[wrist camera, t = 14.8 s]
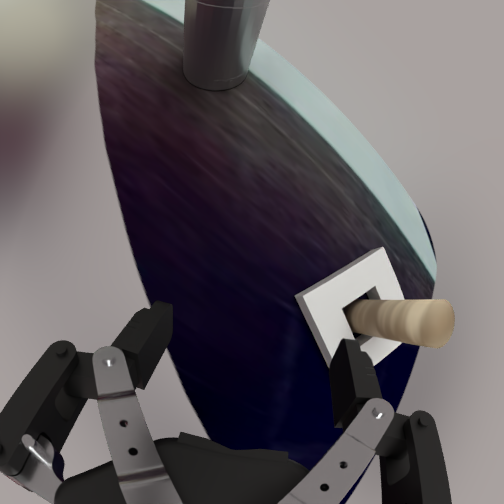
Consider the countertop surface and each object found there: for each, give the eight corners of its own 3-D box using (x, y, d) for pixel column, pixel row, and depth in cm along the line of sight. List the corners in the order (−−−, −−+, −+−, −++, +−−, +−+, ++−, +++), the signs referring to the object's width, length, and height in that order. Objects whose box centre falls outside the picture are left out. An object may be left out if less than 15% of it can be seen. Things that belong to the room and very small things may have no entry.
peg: (336, 309, 31) (420, 316, 17) (361, 293, 32) (447, 290, 18) (349, 338, 31) (432, 358, 17) (373, 320, 32) (458, 329, 18)
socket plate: (294, 295, 30) (302, 296, 28) (371, 249, 33) (383, 246, 31) (335, 381, 30) (344, 387, 27) (403, 329, 33) (415, 330, 30)
